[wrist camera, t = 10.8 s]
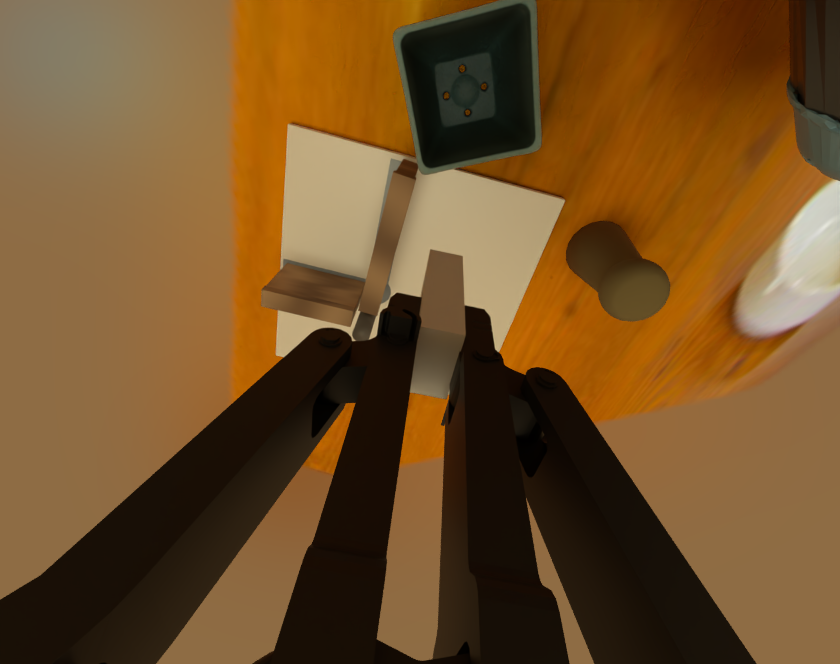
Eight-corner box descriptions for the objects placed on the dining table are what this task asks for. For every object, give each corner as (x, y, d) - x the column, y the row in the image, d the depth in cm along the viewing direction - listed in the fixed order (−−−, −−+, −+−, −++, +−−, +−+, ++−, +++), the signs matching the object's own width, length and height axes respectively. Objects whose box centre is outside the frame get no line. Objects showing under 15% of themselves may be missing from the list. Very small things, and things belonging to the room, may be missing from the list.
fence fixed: (384, 285, 42) (371, 329, 35) (381, 299, 43) (367, 345, 36) (287, 261, 41) (251, 300, 34) (286, 276, 42) (251, 318, 35)
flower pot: (522, 137, 35) (543, 151, 27) (425, 158, 36) (419, 177, 29) (514, 13, 30) (536, -11, 23) (403, 43, 32) (390, 29, 24)
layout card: (562, 197, 37) (565, 200, 36) (477, 395, 51) (477, 401, 50) (291, 123, 35) (287, 124, 34) (278, 350, 49) (275, 355, 48)
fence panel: (386, 284, 42) (377, 316, 36) (370, 279, 41) (358, 310, 36) (420, 164, 35) (415, 179, 29) (401, 158, 35) (392, 172, 29)
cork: (633, 219, 38) (694, 262, 29) (621, 276, 41) (672, 331, 32) (569, 222, 38) (608, 266, 29) (562, 278, 42) (595, 334, 32)
